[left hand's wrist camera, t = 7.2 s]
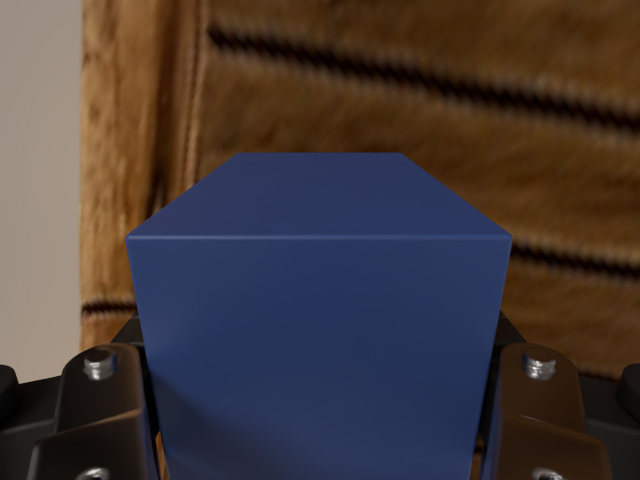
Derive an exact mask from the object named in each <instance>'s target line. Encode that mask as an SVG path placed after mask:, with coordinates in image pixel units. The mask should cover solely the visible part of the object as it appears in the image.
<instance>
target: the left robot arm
mask: <svg viewBox="0 0 640 480" xmlns="http://www.w3.org/2000/svg"><path fill="white" fill-rule="evenodd" d="M478 431H479V434H480V436H481V438H482V440H483V442H484V445H483V450H482V456H481V464H480V471H479V479H478V480H640V363H637V364H631V365H628V366H627V367H625V369H624V370H623V373H622V376H621V379H620V382H619V383H614V382H609V381H604V380H599V379H594V378H589V377H584V376H580V375H578V371H577V369H576V367H575V365H574V364H573V363H572V362H571V361H570V360H569V359H568V358H566V357H565V356H563V355H562V354H560V353H558V352H557V351H555V350H552V349H550V348H547V347H545V346H541V345H538V344H533V343H527V342H526V340H525V339H524V338H523V337H522V336H521V334H520V333H519V332H518V331H517V330H516V328H515V327H514V326H513V325H512V324H511V322H510V321H509V320H508V319H507V318H505V315H504V314H503V313H502V312H501V310H500V312H499V317H498V323H497V328H496V334H495V339H494V345H493V351H492V356H491V362H490V367H489V373H488V378H487V384H486V389H485V395H484V400H483V406H482V411H481V417H480V423H479V428H478ZM158 432H160V428H159V422H158V417H157V411H156V406H155V400H154V395H153V389H152V384H151V378H150V373H149V368H148V362H147V357H146V351H145V346H144V340H143V335H142V329H141V324H140V318H139V313H138V310H137V311H136V312H135V314H134V315H133V316H132V319H130V320H129V321H128V322H127V323H126V324H125V325H124V327H123V328H122V329H121V330H120V331H119V333H118V334H117V335H116V336H115V337H114V339H113V340H112V341H111V342H110V343H107V344H102V345H99V346H95V347H93V348H90V349H88V350H85V351H83V352H82V353H80V354H78V355H77V356H75V357H74V358H72V359H71V360H70V361H69V362H68V363H67V364H66V365H65V367H64V368H63V371H62V375H60V376H56V377H52V378H47V379H42V380H37V381H32V382H27V383H22V384H19V383H18V380H17V377H16V373H15V371H14V369H13V368H11V367H9V366H6V365H0V480H162V479H161V472H160V464H159V457H158V450H157V445H156V440H155V438H156V436H157V434H158Z"/></svg>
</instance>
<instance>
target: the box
mask: <svg viewBox="0 0 640 480" xmlns="http://www.w3.org/2000/svg"><path fill="white" fill-rule="evenodd" d="M125 242H126V247H127V253H128V258H129V264H130V269H131V274H132V280H133V285H134V291H135V296H136V302H137V307H138V313H139V318H140V324H141V329H142V335H143V340H144V346H145V351H146V357H147V362H148V368H149V373H150V378H151V384H152V389H153V395H154V400H155V406H156V411H157V417H158V422H159V428H160V433H161V439H162V444H163V450H164V455H165V461H166V466H167V472H168V477H169V480H469V478H470V472H471V467H472V461H473V456H474V450H475V445H476V439H477V434H478V428H479V423H480V417H481V411H482V406H483V400H484V395H485V389H486V384H487V378H488V373H489V367H490V362H491V356H492V351H493V345H494V339H495V334H496V328H497V323H498V317H499V312H500V306H501V301H502V295H503V290H504V284H505V278H506V273H507V267H508V262H509V256H510V251H511V245H512V236H511V235H510V234H509V233H508V232H506V231H505V230H504V229H502V228H501V227H500V226H498V225H497V224H496V223H494V222H493V221H492V220H490V219H489V218H488V217H486V216H485V215H484V214H482V213H481V212H480V211H478V210H477V209H476V208H474V207H473V206H472V205H470V204H469V203H468V202H466V201H465V200H463V199H462V198H461V197H459V196H458V195H457V194H455V193H454V192H453V191H451V190H450V189H449V188H447V187H446V186H445V185H443V184H442V183H441V182H439V181H438V180H437V179H435V178H434V177H433V176H431V175H430V174H429V173H427V172H426V171H425V170H423V169H422V168H420V167H419V166H418V165H416V164H415V163H414V162H412V161H411V160H410V159H408V158H407V157H406V156H404V155H403V154H402V153H237V154H236V155H234V156H233V157H232V158H230V159H229V160H227V161H226V162H225V163H223V164H222V165H221V166H219V167H218V168H217V169H215V170H214V171H213V172H211V173H210V174H209V175H207V176H206V177H204V178H203V179H202V180H200V181H199V182H198V183H196V184H195V185H194V186H192V187H191V188H190V189H188V190H187V191H186V192H184V193H183V194H181V195H180V196H179V197H177V198H176V199H175V200H173V201H172V202H171V203H169V204H168V205H167V206H165V207H164V208H163V209H161V210H160V211H158V212H157V213H156V214H154V215H153V216H152V217H150V218H149V219H148V220H146V221H145V222H144V223H142V224H141V225H140V226H138V227H137V228H135V229H134V230H133V231H131V232H130V233H129V234H127V235H126V239H125Z"/></svg>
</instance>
